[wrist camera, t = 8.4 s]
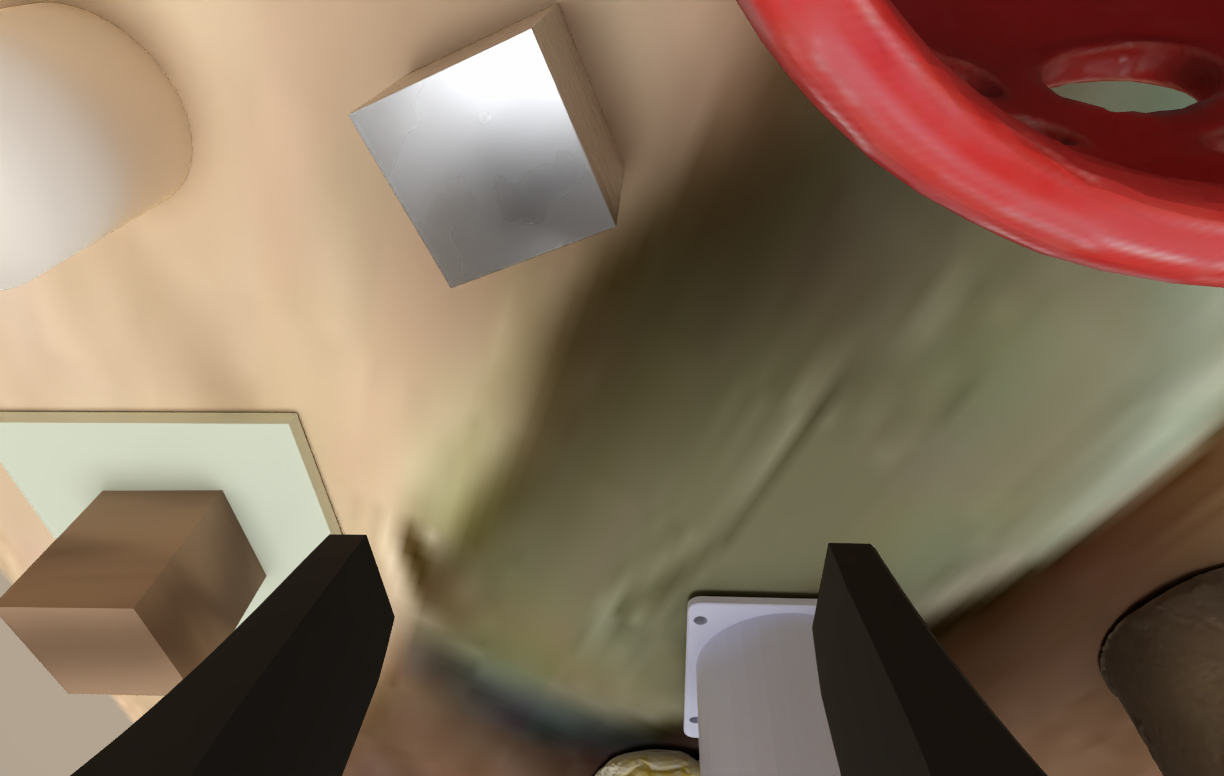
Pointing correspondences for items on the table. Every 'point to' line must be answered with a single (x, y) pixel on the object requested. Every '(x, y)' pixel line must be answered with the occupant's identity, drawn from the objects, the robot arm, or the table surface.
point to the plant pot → (1030, 117)
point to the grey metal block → (498, 149)
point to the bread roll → (651, 764)
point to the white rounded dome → (79, 135)
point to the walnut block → (136, 591)
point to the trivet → (177, 472)
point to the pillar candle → (1174, 675)
